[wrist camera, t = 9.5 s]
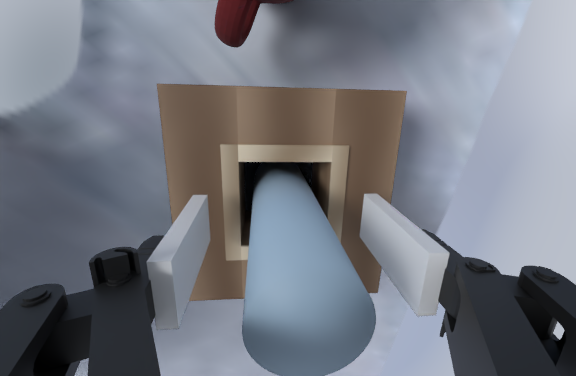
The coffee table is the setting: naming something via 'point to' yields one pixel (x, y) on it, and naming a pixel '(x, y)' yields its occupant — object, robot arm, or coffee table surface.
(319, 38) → the coffee table surface
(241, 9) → the mug
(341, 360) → the peg
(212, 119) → the socket block
